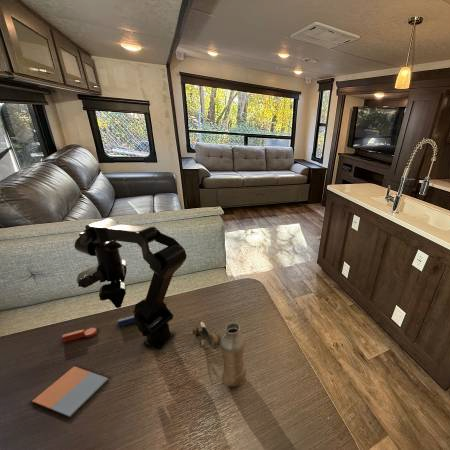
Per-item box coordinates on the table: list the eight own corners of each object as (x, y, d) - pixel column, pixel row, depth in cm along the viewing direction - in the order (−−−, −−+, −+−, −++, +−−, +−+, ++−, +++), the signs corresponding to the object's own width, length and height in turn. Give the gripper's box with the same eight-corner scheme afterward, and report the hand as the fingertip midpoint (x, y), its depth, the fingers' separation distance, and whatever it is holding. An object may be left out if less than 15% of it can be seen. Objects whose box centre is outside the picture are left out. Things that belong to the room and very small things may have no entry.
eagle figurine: (185, 347, 79) (209, 351, 77) (188, 323, 81) (212, 327, 78) (200, 341, 86) (222, 345, 84) (203, 320, 88) (225, 323, 85)
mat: (108, 379, 69) (108, 378, 69) (69, 417, 60) (69, 416, 60) (74, 367, 71) (74, 366, 71) (32, 402, 62) (31, 400, 62)
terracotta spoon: (63, 344, 77) (61, 339, 76) (65, 337, 80) (63, 332, 79) (96, 335, 81) (94, 330, 81) (97, 328, 84) (95, 323, 83)
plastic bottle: (240, 392, 69) (239, 340, 61) (217, 386, 70) (214, 334, 62) (249, 371, 75) (249, 321, 67) (228, 366, 76) (226, 316, 68)
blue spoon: (118, 328, 85) (117, 323, 84) (119, 322, 87) (118, 317, 86) (146, 320, 89) (145, 316, 88) (146, 315, 91) (145, 310, 90)
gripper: (80, 250, 79) (92, 289, 86) (69, 282, 65) (84, 326, 71) (122, 244, 85) (130, 281, 91) (120, 272, 71) (130, 313, 77)
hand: (119, 298), depth 83 cm, fingers open, 9 cm apart
